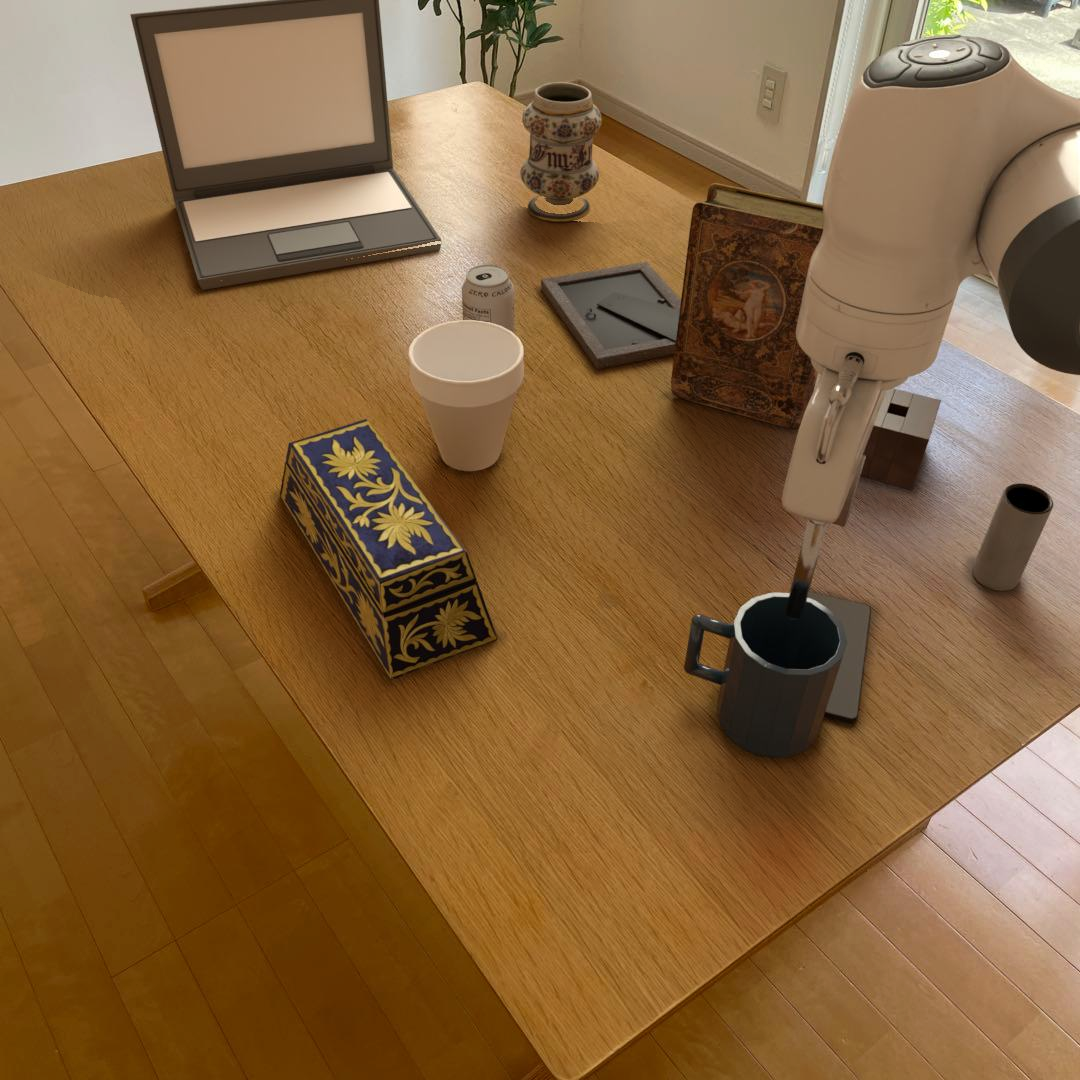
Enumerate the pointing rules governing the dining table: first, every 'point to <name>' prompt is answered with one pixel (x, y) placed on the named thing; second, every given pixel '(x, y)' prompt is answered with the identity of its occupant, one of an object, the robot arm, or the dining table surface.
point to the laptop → (278, 137)
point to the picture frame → (617, 312)
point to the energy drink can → (489, 296)
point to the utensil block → (900, 438)
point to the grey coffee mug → (772, 672)
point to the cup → (467, 388)
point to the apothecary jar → (560, 147)
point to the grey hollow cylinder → (1012, 536)
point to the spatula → (814, 553)
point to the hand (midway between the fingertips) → (827, 488)
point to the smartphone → (847, 656)
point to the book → (746, 305)
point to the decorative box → (384, 549)
